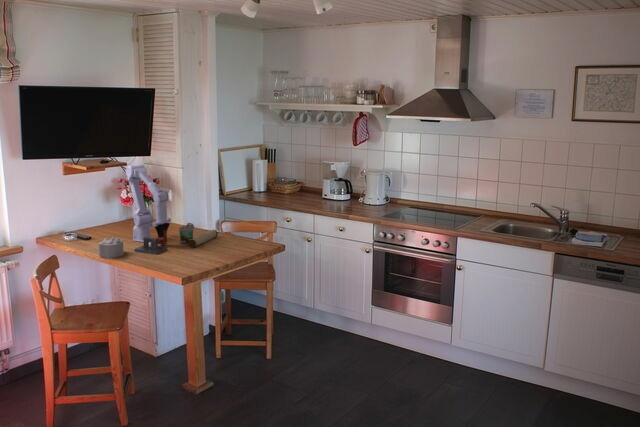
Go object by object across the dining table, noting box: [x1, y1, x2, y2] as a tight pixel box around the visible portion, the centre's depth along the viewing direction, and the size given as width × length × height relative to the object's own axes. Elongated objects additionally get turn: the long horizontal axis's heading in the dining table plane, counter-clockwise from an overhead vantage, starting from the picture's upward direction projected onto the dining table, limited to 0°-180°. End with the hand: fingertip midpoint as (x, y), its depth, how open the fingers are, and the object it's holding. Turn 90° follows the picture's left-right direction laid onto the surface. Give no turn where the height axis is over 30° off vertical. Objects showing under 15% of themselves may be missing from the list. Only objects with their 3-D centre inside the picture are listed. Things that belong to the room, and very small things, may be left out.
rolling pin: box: [186, 229, 219, 248], centre depth 349 cm, size 32×6×5 cm, turn 159°
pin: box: [148, 230, 168, 247], centre depth 334 cm, size 14×4×8 cm, turn 160°
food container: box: [178, 222, 195, 245], centre depth 348 cm, size 12×6×10 cm, turn 168°
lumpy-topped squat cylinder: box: [98, 237, 124, 259], centre depth 320 cm, size 10×13×9 cm
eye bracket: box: [134, 237, 168, 255], centre depth 329 cm, size 10×14×7 cm
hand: (162, 236), depth 338 cm, fingers closed on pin, 3 cm apart
